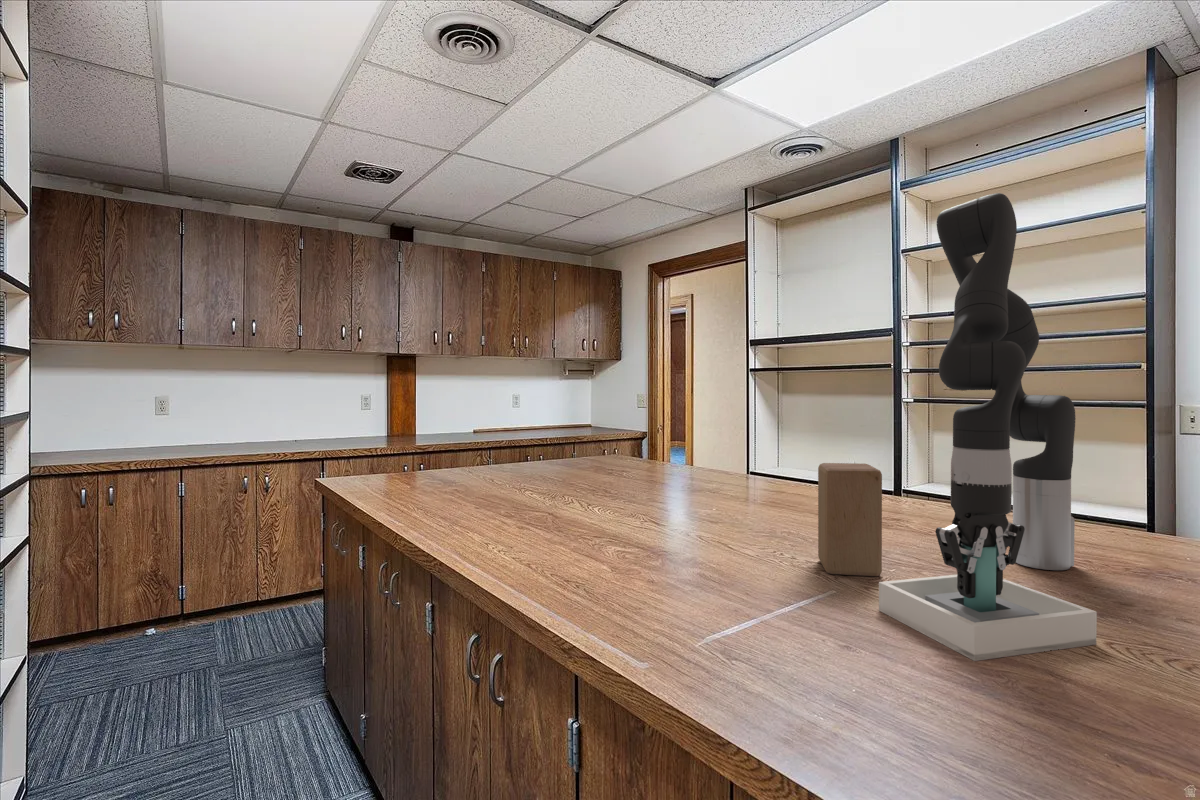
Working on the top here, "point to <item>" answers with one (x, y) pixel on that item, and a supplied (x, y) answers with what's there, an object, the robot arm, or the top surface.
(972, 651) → the bin
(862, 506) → the wooden block
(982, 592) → the peg
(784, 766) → the top surface
